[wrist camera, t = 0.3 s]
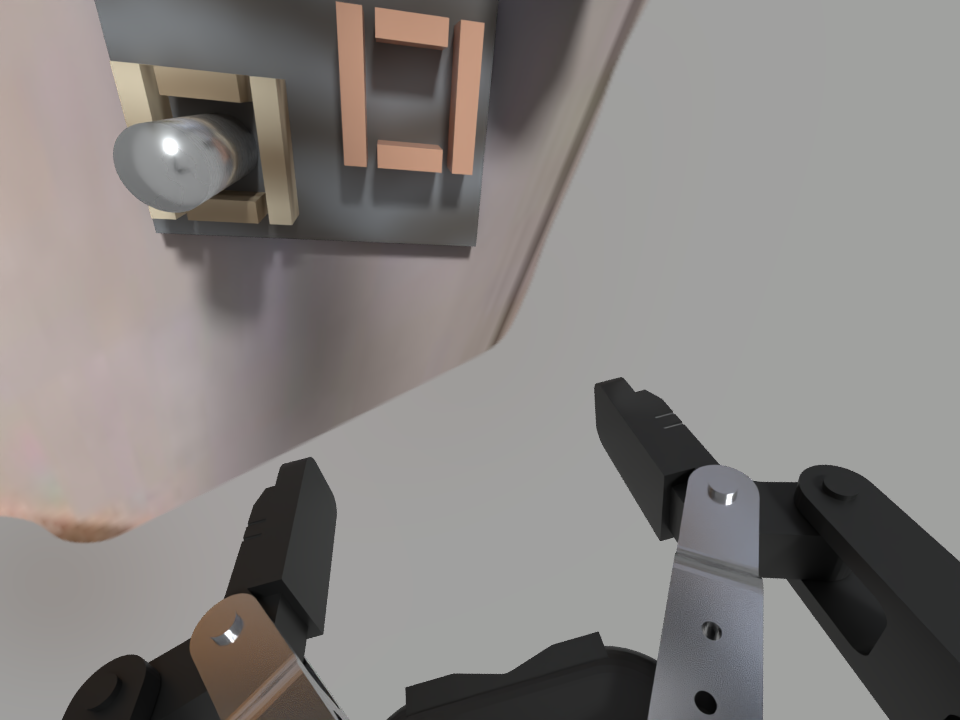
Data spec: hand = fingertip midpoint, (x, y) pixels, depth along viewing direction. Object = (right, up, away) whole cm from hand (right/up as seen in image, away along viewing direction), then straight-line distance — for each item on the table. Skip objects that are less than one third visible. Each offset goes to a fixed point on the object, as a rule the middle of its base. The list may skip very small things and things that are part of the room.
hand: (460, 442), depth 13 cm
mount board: (-11, +19, +19) cm, 29 cm away
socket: (-4, +20, +18) cm, 27 cm away
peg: (-16, +17, +17) cm, 29 cm away
